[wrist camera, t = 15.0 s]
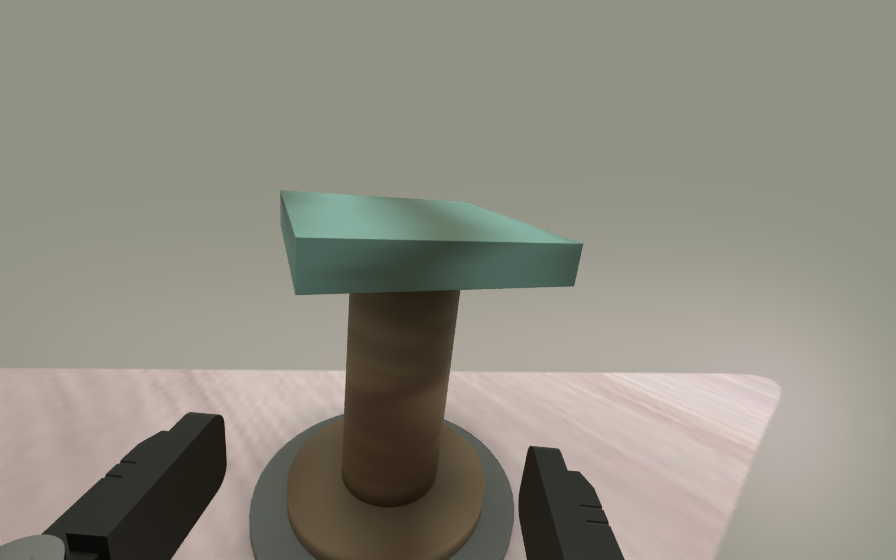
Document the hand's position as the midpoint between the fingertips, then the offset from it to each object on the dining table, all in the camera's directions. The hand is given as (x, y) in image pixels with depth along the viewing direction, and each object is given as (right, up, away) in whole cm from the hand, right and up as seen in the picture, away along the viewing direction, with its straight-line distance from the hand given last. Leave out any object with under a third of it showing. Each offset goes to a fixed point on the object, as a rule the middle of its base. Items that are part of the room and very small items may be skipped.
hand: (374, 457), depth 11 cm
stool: (-1, -5, +9) cm, 10 cm away
